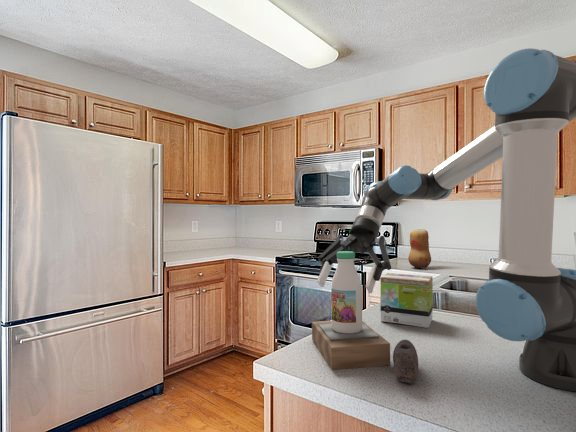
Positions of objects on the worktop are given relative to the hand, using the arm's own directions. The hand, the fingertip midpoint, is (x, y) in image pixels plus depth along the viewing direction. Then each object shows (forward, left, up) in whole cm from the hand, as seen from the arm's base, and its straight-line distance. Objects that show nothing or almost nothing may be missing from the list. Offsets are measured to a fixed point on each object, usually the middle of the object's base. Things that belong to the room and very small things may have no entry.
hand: (343, 287), depth 91 cm
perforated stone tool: (-13, -10, -17) cm, 24 cm away
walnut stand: (+1, -1, -17) cm, 17 cm away
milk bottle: (+1, -1, -11) cm, 12 cm away
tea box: (+22, -28, -17) cm, 40 cm away
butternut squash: (+124, -89, -17) cm, 154 cm away
